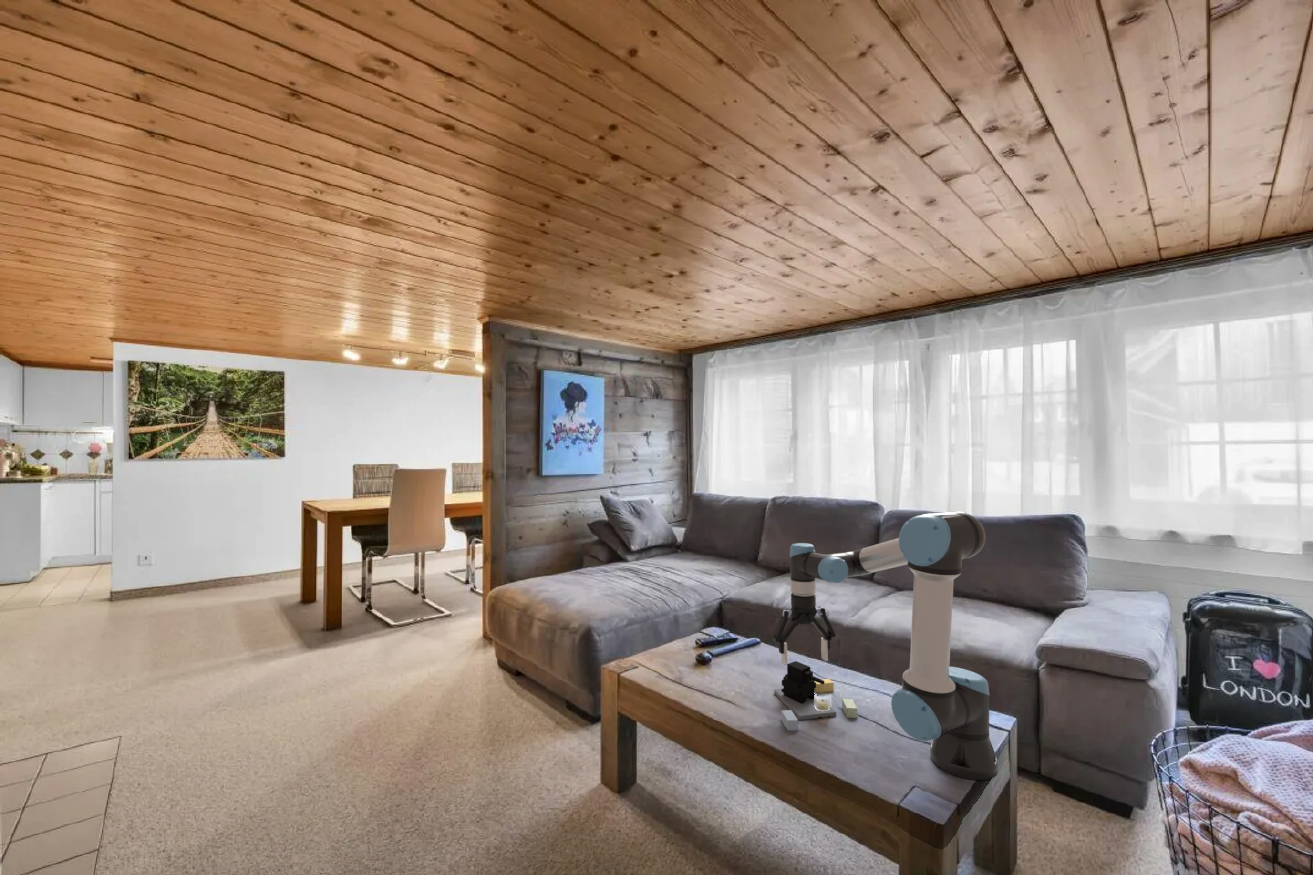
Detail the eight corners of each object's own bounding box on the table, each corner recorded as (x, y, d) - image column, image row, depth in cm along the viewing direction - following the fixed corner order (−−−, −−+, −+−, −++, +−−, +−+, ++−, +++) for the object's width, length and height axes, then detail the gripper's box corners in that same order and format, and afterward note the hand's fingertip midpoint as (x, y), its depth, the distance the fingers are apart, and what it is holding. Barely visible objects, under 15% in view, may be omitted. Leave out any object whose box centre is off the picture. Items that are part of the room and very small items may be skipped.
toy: (815, 712, 166) (815, 678, 166) (779, 694, 177) (779, 663, 177) (831, 705, 170) (831, 672, 170) (795, 688, 181) (795, 658, 182)
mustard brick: (829, 687, 185) (828, 678, 185) (833, 691, 182) (833, 682, 182) (812, 689, 184) (812, 680, 184) (816, 693, 181) (816, 684, 181)
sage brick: (857, 718, 165) (857, 708, 165) (846, 717, 165) (846, 707, 165) (852, 708, 171) (852, 699, 171) (842, 708, 171) (842, 698, 171)
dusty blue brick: (798, 730, 158) (797, 720, 158) (787, 730, 157) (787, 720, 158) (791, 720, 164) (791, 709, 164) (781, 720, 163) (781, 710, 164)
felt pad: (836, 715, 166) (836, 711, 166) (799, 719, 163) (799, 715, 163) (808, 689, 183) (808, 686, 183) (774, 693, 181) (774, 689, 181)
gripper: (833, 588, 180) (835, 654, 179) (761, 592, 175) (762, 660, 174) (845, 593, 173) (847, 662, 172) (770, 598, 168) (772, 669, 167)
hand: (804, 661), depth 173 cm, fingers open, 13 cm apart
